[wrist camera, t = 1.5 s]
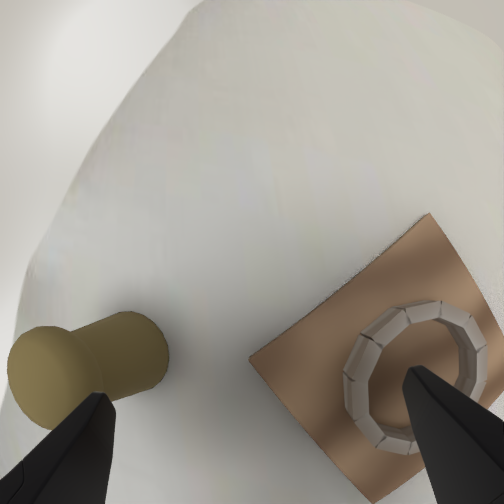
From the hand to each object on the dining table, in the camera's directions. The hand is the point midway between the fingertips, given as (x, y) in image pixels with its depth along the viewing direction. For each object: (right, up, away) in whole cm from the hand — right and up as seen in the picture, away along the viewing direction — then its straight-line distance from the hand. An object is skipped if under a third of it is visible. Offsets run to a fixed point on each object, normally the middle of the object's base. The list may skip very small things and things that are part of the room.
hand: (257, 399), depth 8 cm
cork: (-9, -3, +13) cm, 16 cm away
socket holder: (+11, -4, +11) cm, 16 cm away
